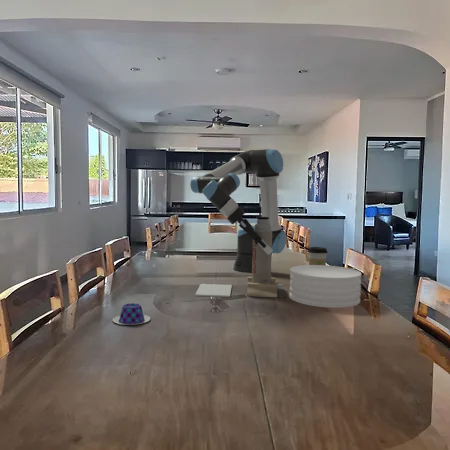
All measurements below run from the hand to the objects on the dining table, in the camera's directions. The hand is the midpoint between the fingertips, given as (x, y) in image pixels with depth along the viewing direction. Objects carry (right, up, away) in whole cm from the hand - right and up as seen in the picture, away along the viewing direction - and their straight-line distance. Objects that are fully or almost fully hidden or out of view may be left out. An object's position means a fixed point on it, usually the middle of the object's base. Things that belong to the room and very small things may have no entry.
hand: (270, 251), depth 178 cm
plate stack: (+21, -19, -5) cm, 29 cm away
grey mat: (-23, -17, +3) cm, 29 cm away
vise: (-2, -18, +2) cm, 18 cm away
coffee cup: (+27, -16, +37) cm, 49 cm away
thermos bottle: (-4, -14, +1) cm, 14 cm away
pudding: (-49, -20, -41) cm, 67 cm away
